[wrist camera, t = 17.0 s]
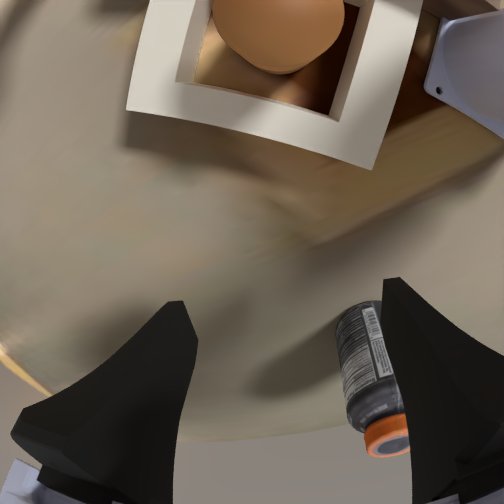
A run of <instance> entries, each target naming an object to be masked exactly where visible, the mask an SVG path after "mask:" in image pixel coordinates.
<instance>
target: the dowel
mask: <svg viewBox="0 0 504 504" xmlns="http://www.w3.org/2000/svg"><path fill="white" fill-rule="evenodd" d="M212 12H213V19H214V23H215V26H216V28H217V31H218V32H219V34H220V36H221V37H222V39H223V40H224V41H225V42H226V44H228V45H229V46H230V47H231V48H232V49H233V50H234V51H236V52H237V53H238V54H240V55H241V56H242V57H243V58H245V59H246V60H247V61H249V62H250V63H251V64H252V65H254V66H255V67H256V68H258V69H260V70H262V71H264V72H267V73H271V74H289V73H293V72H295V71H298V70H300V69H301V68H303V67H304V66H306V65H307V64H308V63H310V62H311V61H312V60H314V59H315V58H316V57H318V56H319V55H321V54H322V53H323V52H325V51H326V50H327V49H328V48H329V47H330V46H331V45H332V44H333V43H334V42H335V40H336V39H337V37H338V35H339V34H340V32H341V29H342V26H343V22H344V4H343V0H213V7H212Z"/></svg>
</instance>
